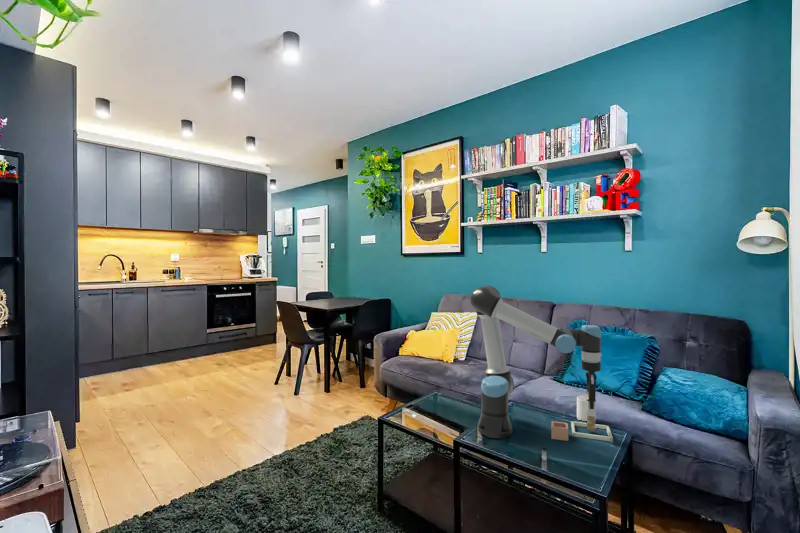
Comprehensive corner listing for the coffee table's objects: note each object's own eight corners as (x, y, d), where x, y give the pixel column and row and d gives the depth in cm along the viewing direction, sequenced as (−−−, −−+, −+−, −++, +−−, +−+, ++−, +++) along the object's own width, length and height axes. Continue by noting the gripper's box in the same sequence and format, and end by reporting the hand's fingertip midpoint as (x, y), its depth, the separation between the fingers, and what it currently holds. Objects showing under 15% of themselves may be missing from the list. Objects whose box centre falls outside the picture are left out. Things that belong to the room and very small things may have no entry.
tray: (572, 438, 171) (572, 432, 171) (571, 426, 183) (571, 421, 183) (613, 444, 165) (613, 438, 165) (608, 431, 178) (608, 425, 178)
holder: (551, 440, 169) (551, 426, 168) (551, 434, 175) (551, 420, 175) (568, 443, 166) (568, 429, 166) (567, 436, 172) (567, 423, 172)
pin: (587, 430, 173) (587, 393, 173) (586, 427, 176) (586, 391, 176) (595, 431, 172) (595, 394, 172) (594, 428, 175) (594, 392, 175)
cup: (592, 416, 195) (592, 396, 195) (601, 426, 183) (601, 404, 183) (574, 416, 196) (574, 395, 196) (582, 425, 184) (582, 404, 184)
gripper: (603, 366, 165) (602, 422, 166) (598, 357, 180) (598, 409, 180) (583, 364, 168) (583, 419, 168) (580, 356, 183) (580, 407, 183)
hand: (590, 414), depth 174 cm, fingers closed on pin, 3 cm apart
